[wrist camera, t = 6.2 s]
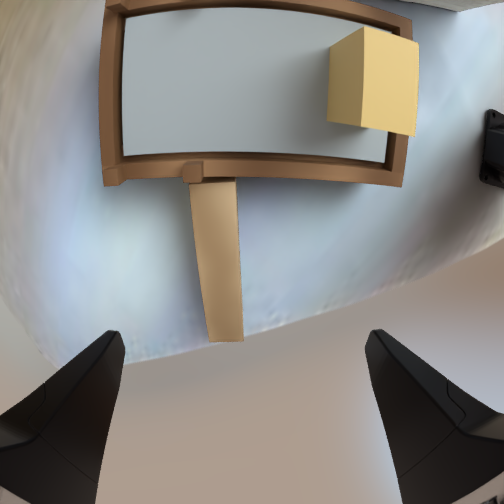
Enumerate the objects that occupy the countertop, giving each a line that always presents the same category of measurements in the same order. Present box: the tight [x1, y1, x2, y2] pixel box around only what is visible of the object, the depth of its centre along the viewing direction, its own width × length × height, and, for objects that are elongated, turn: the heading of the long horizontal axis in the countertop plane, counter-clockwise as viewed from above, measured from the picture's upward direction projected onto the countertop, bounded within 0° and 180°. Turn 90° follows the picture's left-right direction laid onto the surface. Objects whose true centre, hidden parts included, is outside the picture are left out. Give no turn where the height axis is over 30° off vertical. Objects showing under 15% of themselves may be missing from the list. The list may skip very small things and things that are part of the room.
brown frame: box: [99, 0, 413, 187], centre depth 13 cm, size 16×10×5 cm, turn 88°
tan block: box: [189, 176, 244, 342], centre depth 19 cm, size 2×11×4 cm, turn 1°
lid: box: [122, 8, 419, 163], centre depth 10 cm, size 14×8×5 cm, turn 88°
